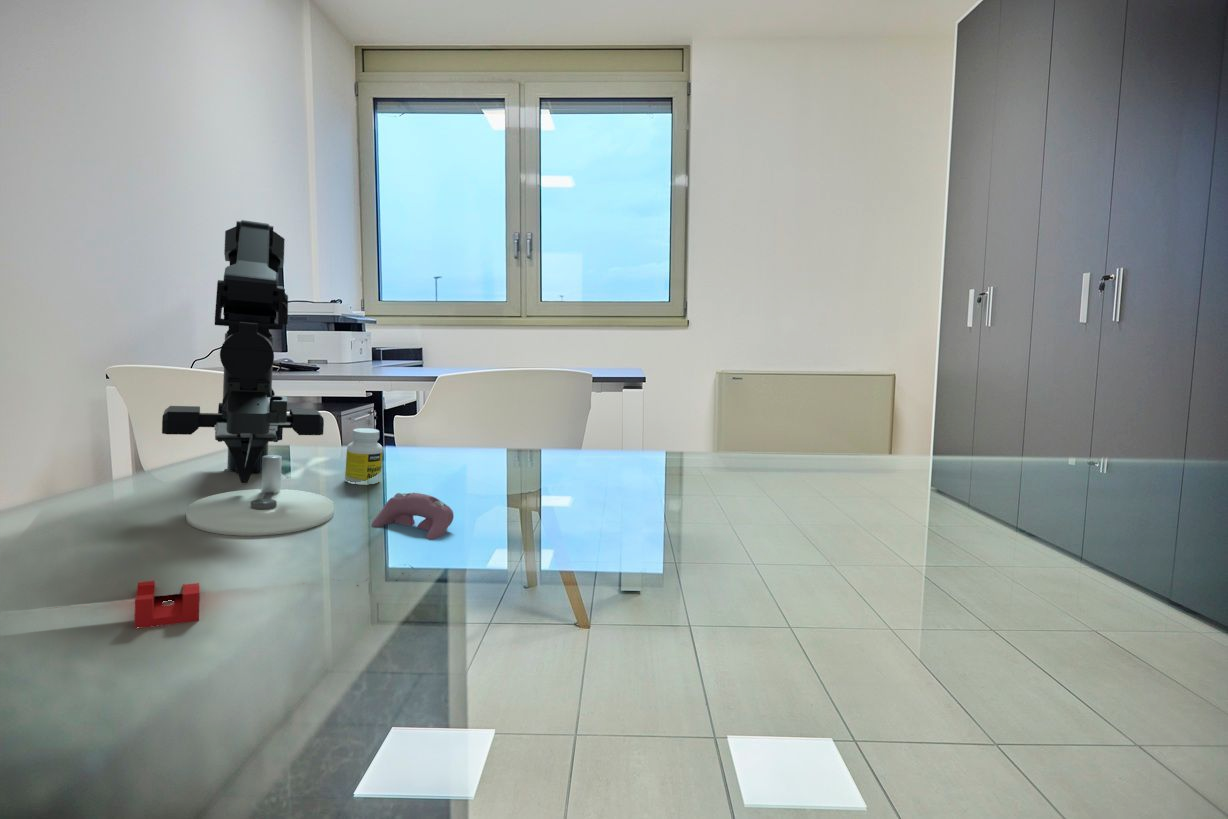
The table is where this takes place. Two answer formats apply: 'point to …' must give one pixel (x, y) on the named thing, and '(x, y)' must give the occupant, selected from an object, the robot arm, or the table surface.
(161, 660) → the table surface
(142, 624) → the bracket
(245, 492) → the dial
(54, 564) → the table surface
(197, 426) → the robot arm
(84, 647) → the table surface
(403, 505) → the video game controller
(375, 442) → the supplement bottle
